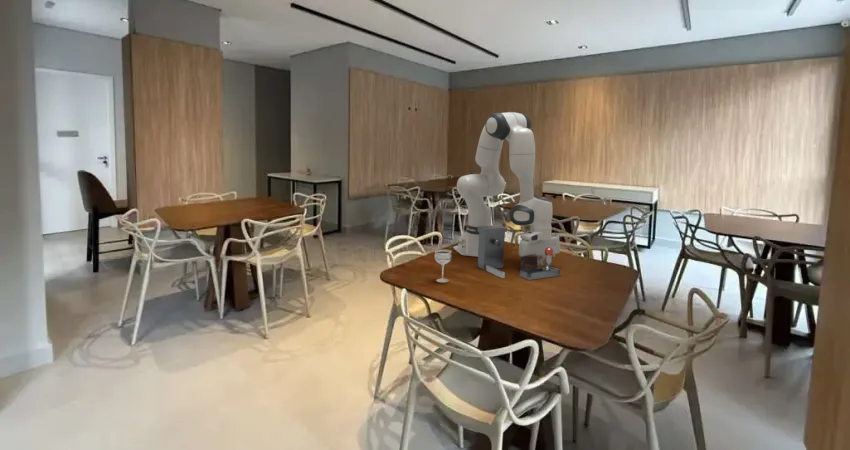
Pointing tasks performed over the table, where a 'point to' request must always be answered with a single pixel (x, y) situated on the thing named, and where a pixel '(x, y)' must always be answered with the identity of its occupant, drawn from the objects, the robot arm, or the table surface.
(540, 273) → the lever rail
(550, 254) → the lever
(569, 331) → the table surface
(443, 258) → the wineglass
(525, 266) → the box
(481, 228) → the grey coffee machine
